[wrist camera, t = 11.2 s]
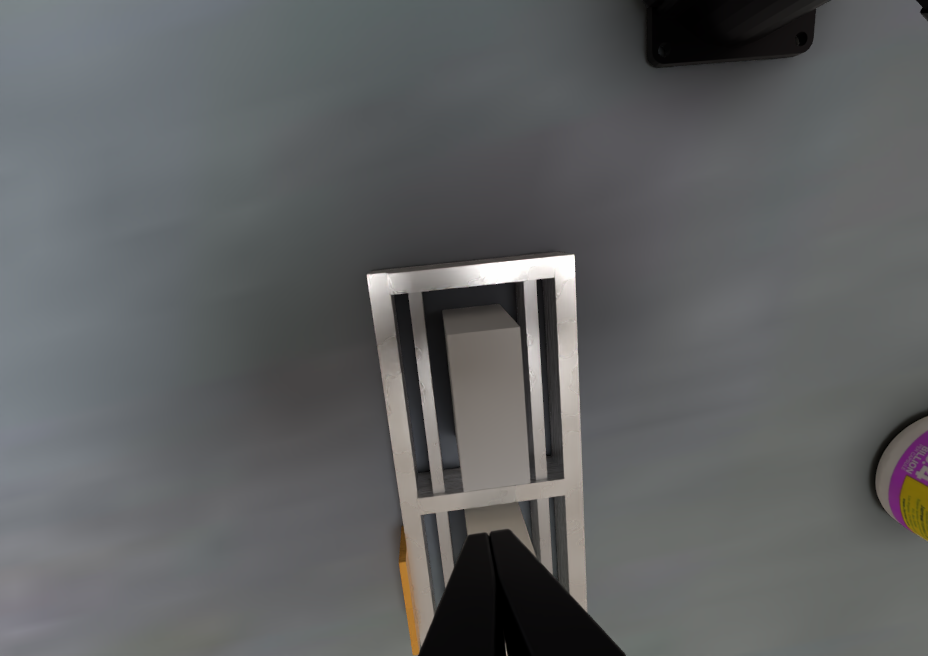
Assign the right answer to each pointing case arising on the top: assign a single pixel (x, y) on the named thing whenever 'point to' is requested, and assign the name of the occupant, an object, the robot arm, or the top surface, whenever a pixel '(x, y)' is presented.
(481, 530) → the white panel
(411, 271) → the rack
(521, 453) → the grey filler panel
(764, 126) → the top surface
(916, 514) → the supplement bottle
